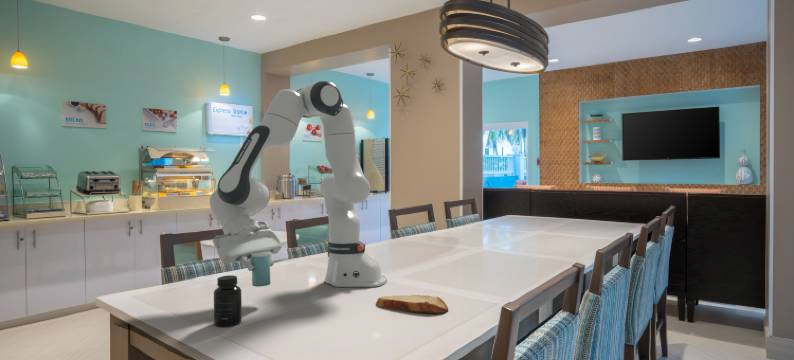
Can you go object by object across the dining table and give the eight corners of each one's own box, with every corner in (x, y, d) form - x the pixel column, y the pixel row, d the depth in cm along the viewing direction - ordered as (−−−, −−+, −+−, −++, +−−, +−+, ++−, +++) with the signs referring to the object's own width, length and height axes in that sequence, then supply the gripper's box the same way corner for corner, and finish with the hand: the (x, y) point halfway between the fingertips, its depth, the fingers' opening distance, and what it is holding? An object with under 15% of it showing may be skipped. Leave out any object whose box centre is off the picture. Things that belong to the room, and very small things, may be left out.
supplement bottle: (218, 319, 121) (218, 274, 121) (244, 318, 122) (244, 274, 122) (210, 328, 114) (209, 280, 114) (237, 327, 115) (237, 280, 115)
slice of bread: (372, 303, 137) (372, 291, 137) (425, 297, 144) (425, 285, 144) (395, 322, 120) (395, 308, 120) (454, 313, 127) (454, 300, 127)
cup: (273, 282, 137) (273, 251, 137) (265, 287, 132) (264, 254, 131) (257, 281, 138) (256, 250, 138) (248, 286, 133) (247, 254, 132)
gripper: (214, 229, 130) (235, 267, 125) (272, 221, 147) (293, 254, 141) (206, 243, 133) (226, 281, 127) (263, 234, 149) (284, 267, 144)
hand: (262, 267), depth 134 cm, fingers closed on cup, 5 cm apart
